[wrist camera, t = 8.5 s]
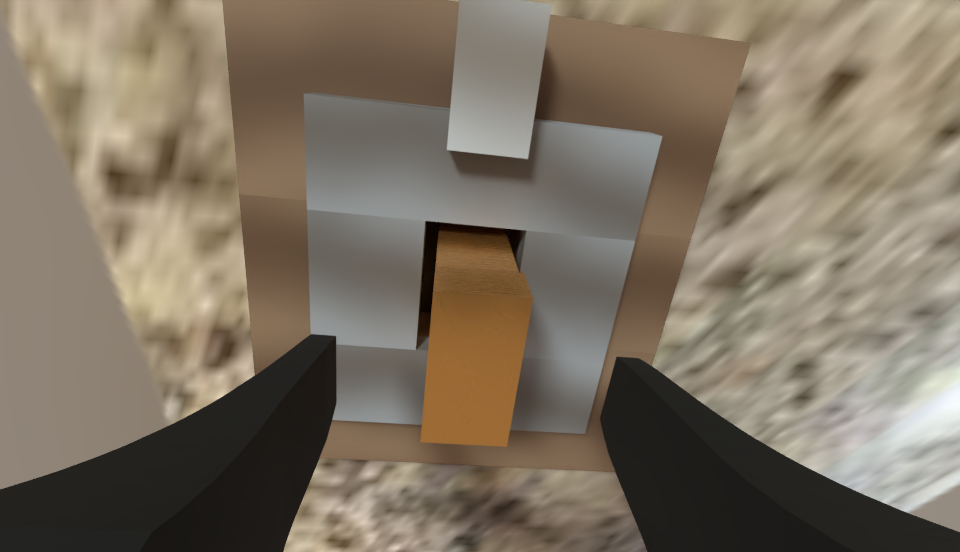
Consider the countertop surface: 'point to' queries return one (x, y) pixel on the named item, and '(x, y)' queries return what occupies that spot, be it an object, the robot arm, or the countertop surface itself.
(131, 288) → the countertop surface
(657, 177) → the brown grey stepped board
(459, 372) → the notched wooden block
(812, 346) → the countertop surface
